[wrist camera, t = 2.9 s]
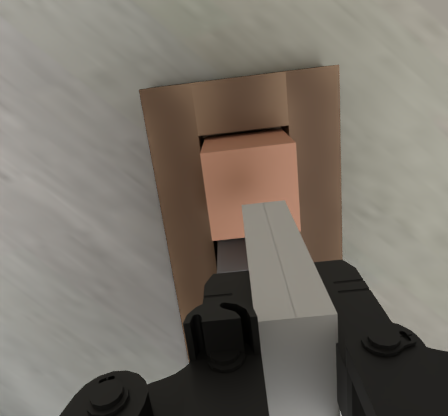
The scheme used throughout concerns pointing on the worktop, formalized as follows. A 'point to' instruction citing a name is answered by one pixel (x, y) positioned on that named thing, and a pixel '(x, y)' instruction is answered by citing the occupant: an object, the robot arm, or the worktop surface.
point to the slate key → (232, 255)
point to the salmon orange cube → (248, 177)
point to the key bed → (236, 124)
